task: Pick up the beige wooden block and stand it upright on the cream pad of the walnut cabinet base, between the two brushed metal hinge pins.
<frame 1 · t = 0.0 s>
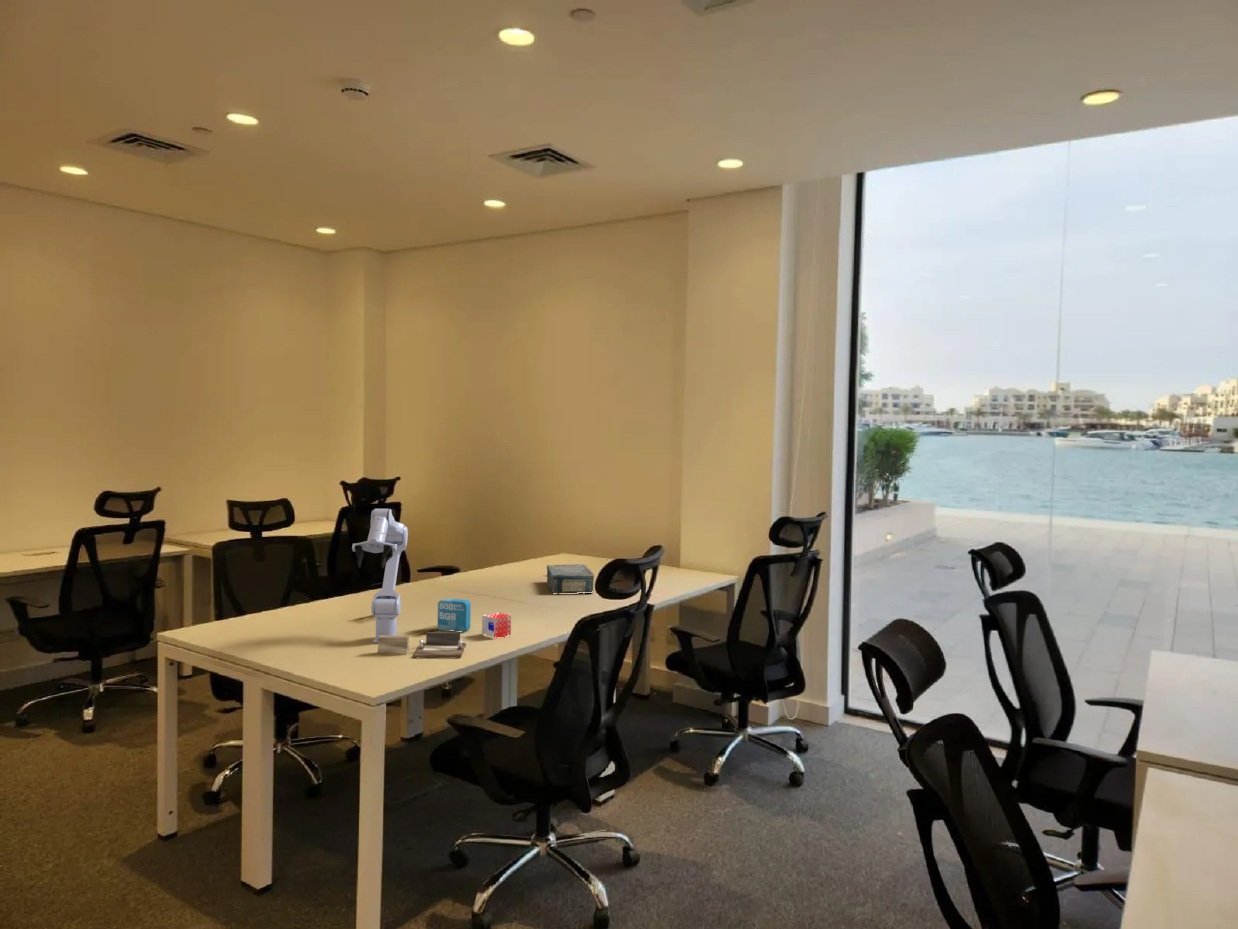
hand: (370, 566, 272), 32 cm above the table, tool tilted 50°, fingers open, 7 cm apart
puzzle cube: (496, 636, 312), on the table
hinge pins: (440, 644, 288), point 2 cm above the table
metal box: (569, 589, 409), on the table
data package: (453, 630, 319), on the table
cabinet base: (440, 651, 288), on the table
beige wooden block: (393, 653, 285), on the table
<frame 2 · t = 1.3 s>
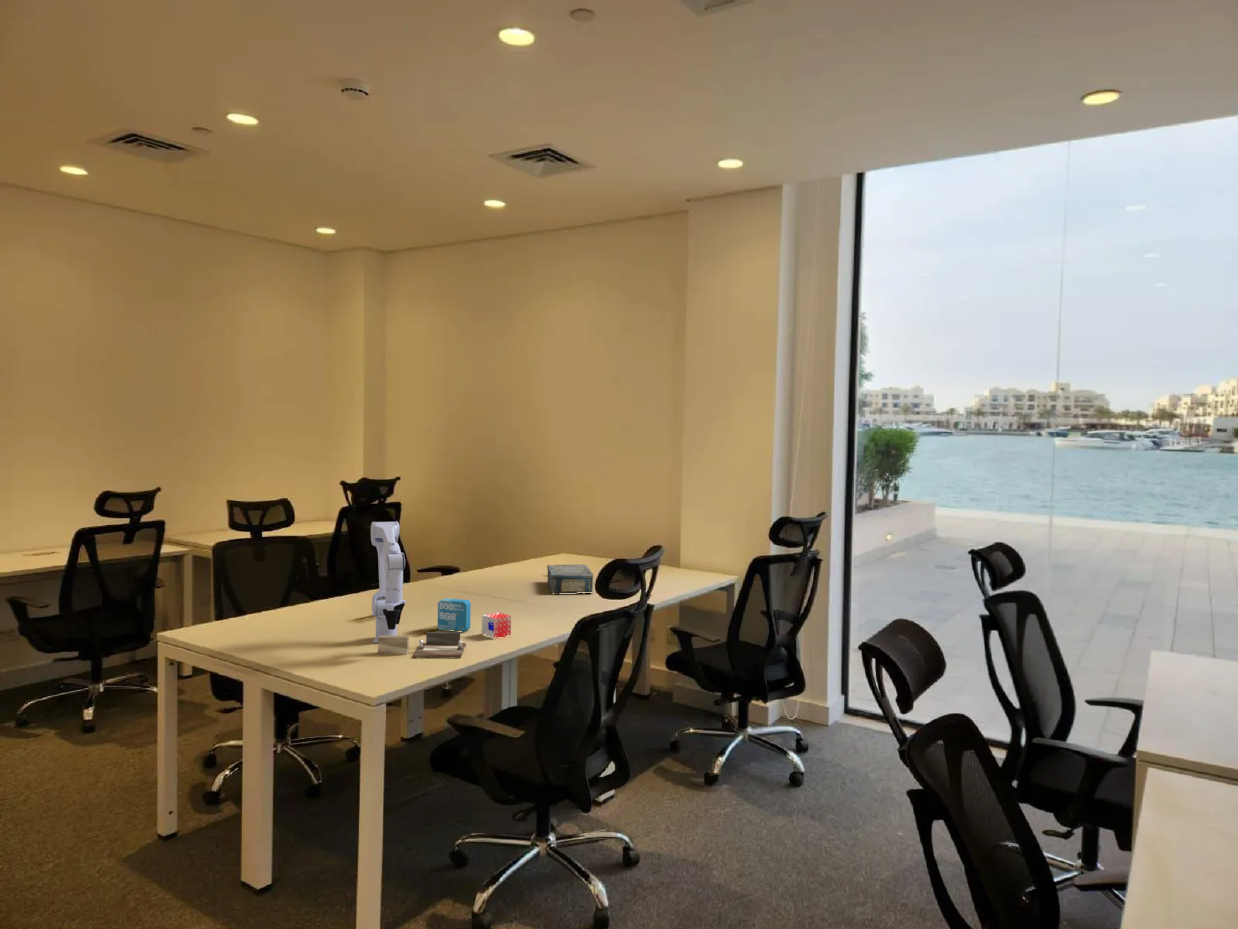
hand: (393, 626, 284), 9 cm above the table, tool pointing down, fingers open, 7 cm apart
nothing on the table moved.
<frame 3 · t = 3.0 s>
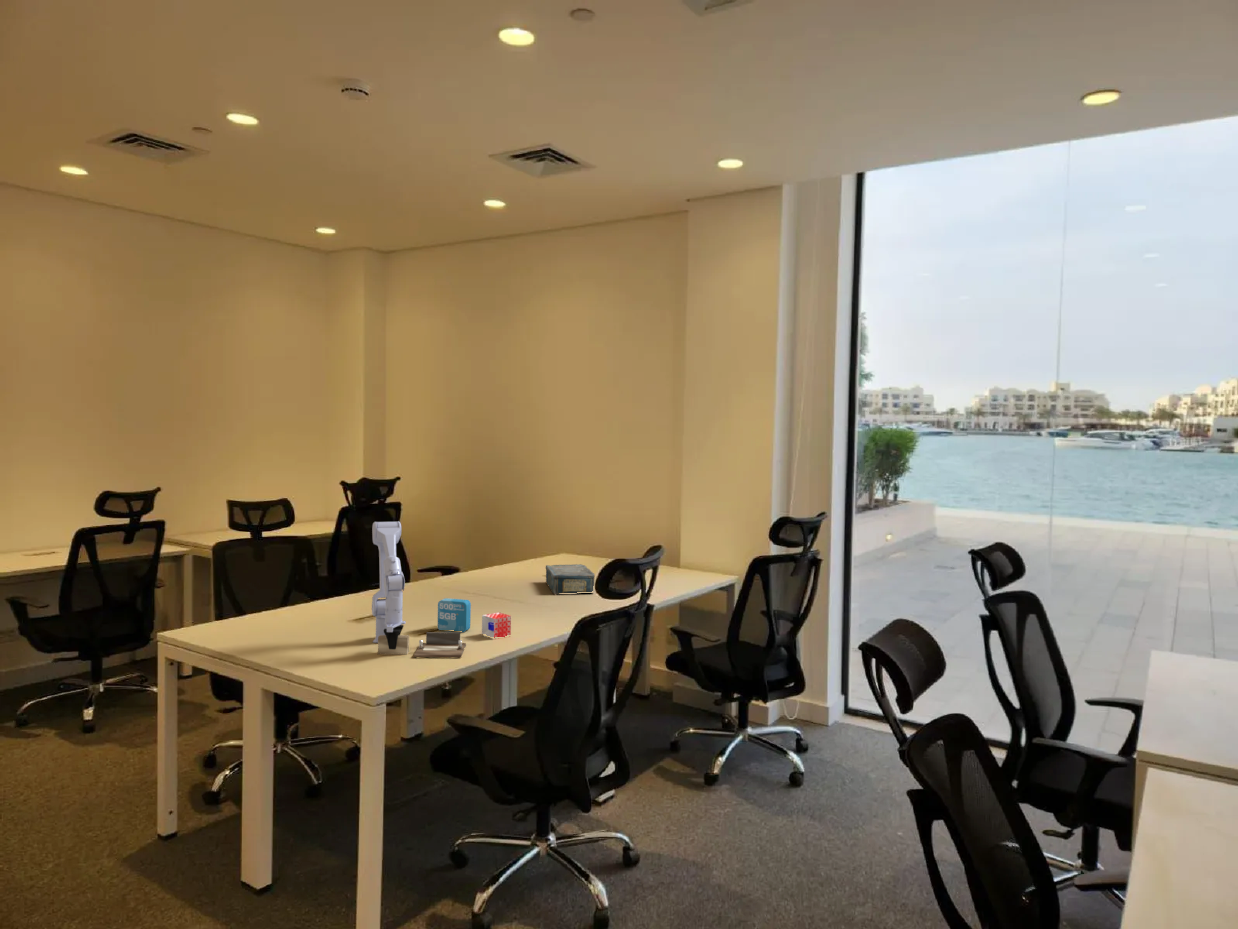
hand: (393, 647, 285), 2 cm above the table, tool pointing down, fingers closed on beige wooden block, 3 cm apart
beige wooden block: (393, 653, 285), on the table, touching gripper
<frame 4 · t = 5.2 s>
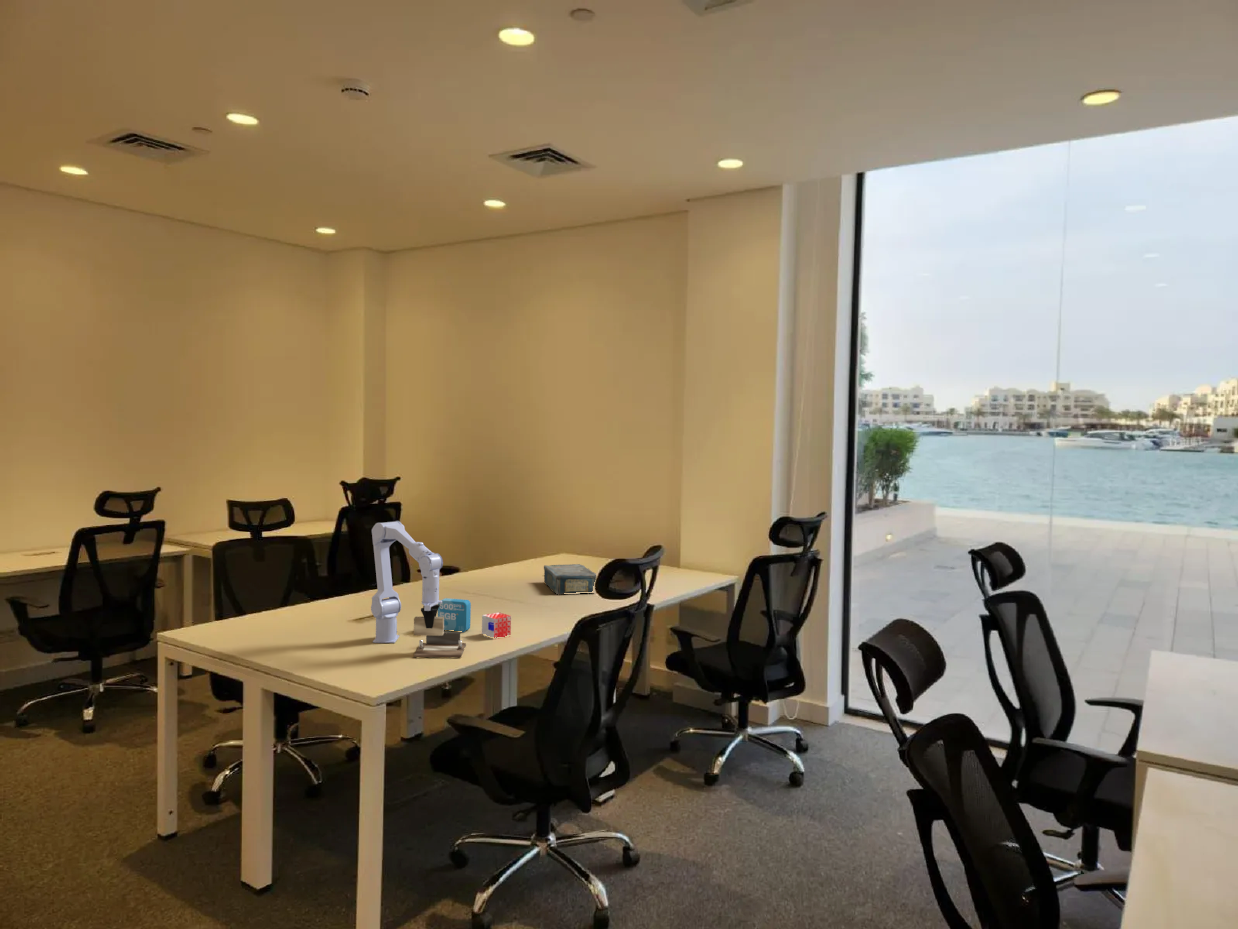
hand: (430, 626, 287), 9 cm above the table, tool pointing down, fingers closed on beige wooden block, 3 cm apart
beige wooden block: (428, 634, 287), point 6 cm above the table, touching gripper
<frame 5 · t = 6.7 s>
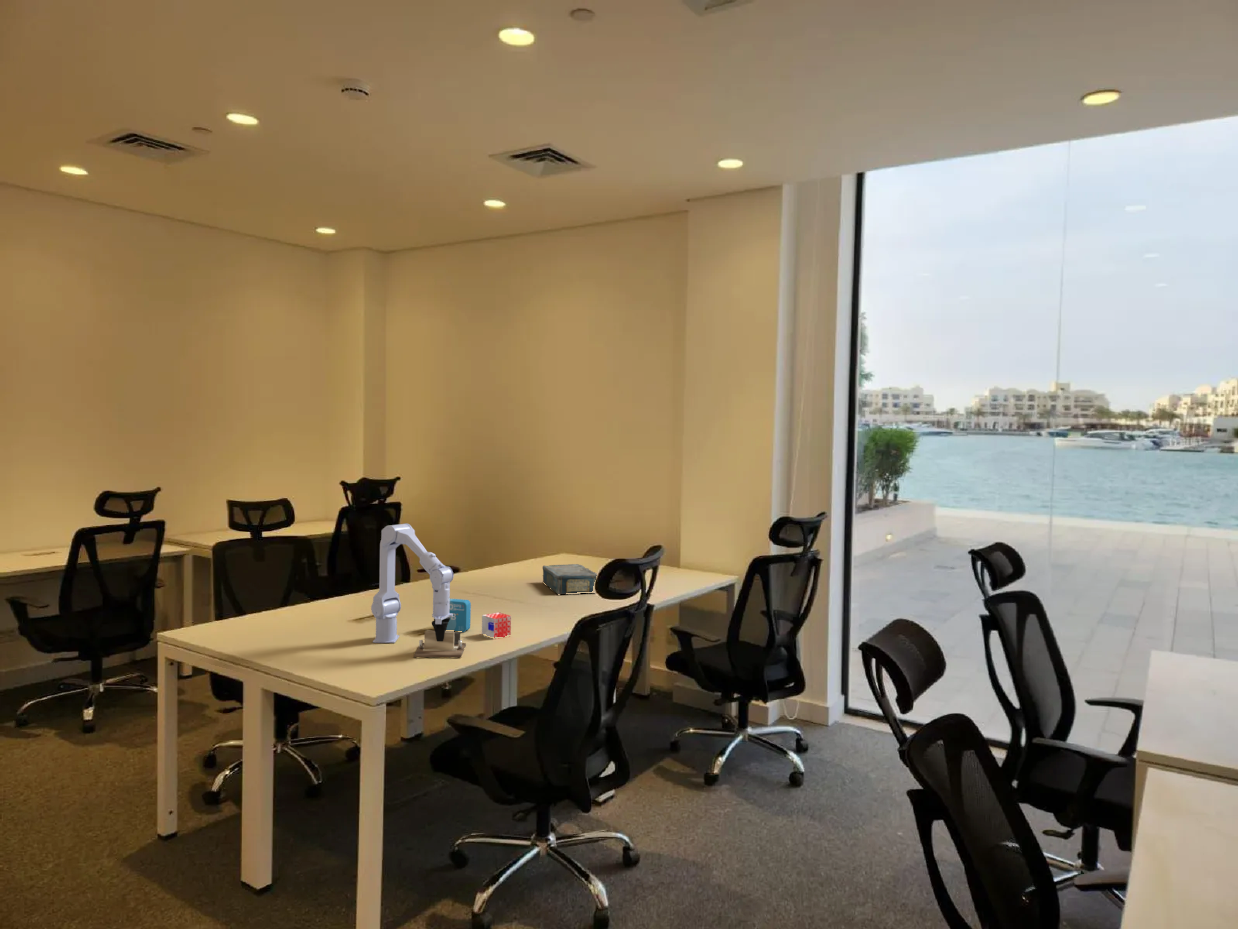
hand: (440, 639, 288), 4 cm above the table, tool pointing down, fingers closed on beige wooden block, 3 cm apart
beige wooden block: (439, 648, 288), point 1 cm above the table, touching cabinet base, gripper
when the fingers open (4 cm above the table, at t = 7.5 s): beige wooden block stays where it is, resting on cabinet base.
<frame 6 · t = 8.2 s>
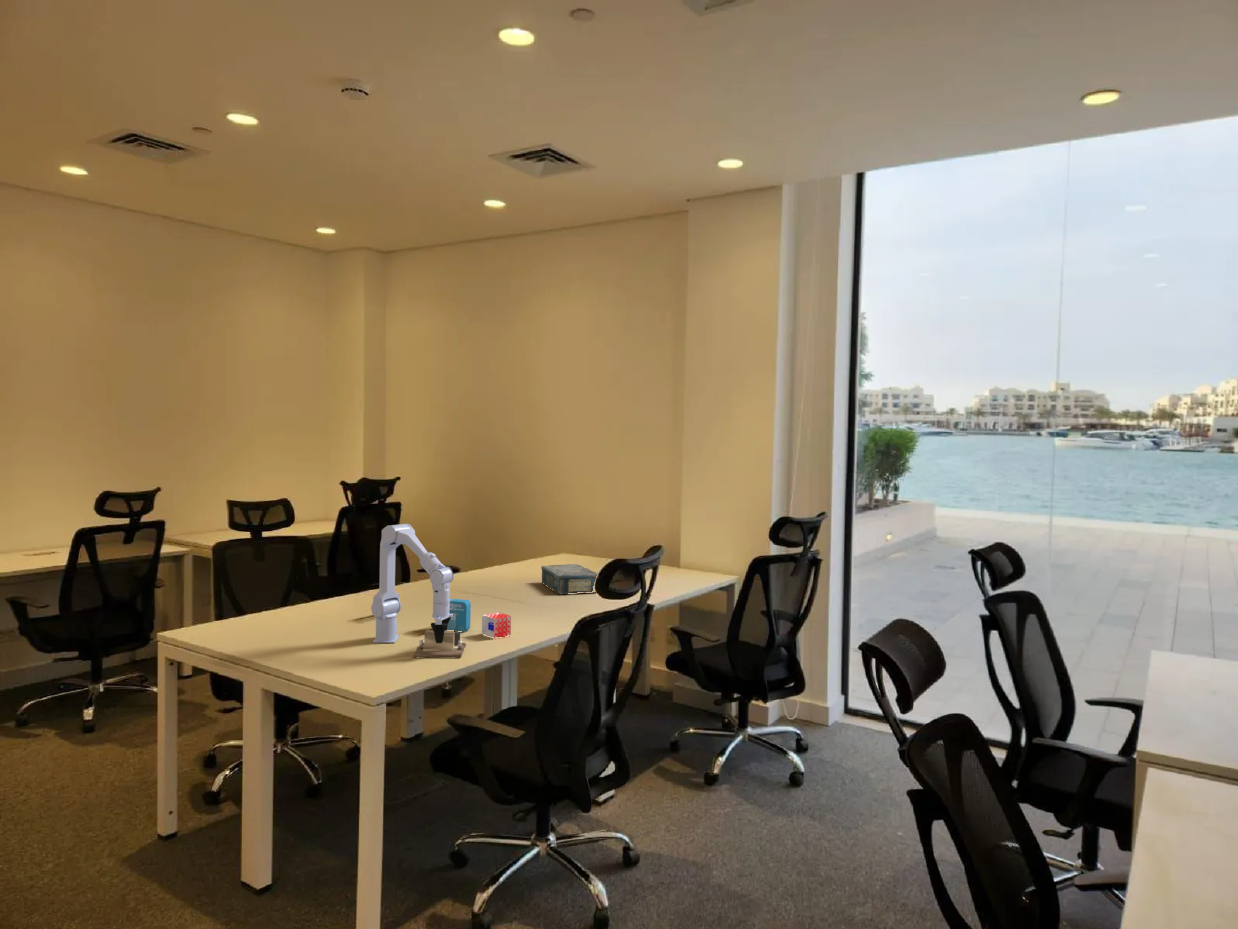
hand: (440, 640, 288), 4 cm above the table, tool pointing down, fingers open, 7 cm apart
beige wooden block: (439, 648, 288), point 1 cm above the table, touching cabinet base
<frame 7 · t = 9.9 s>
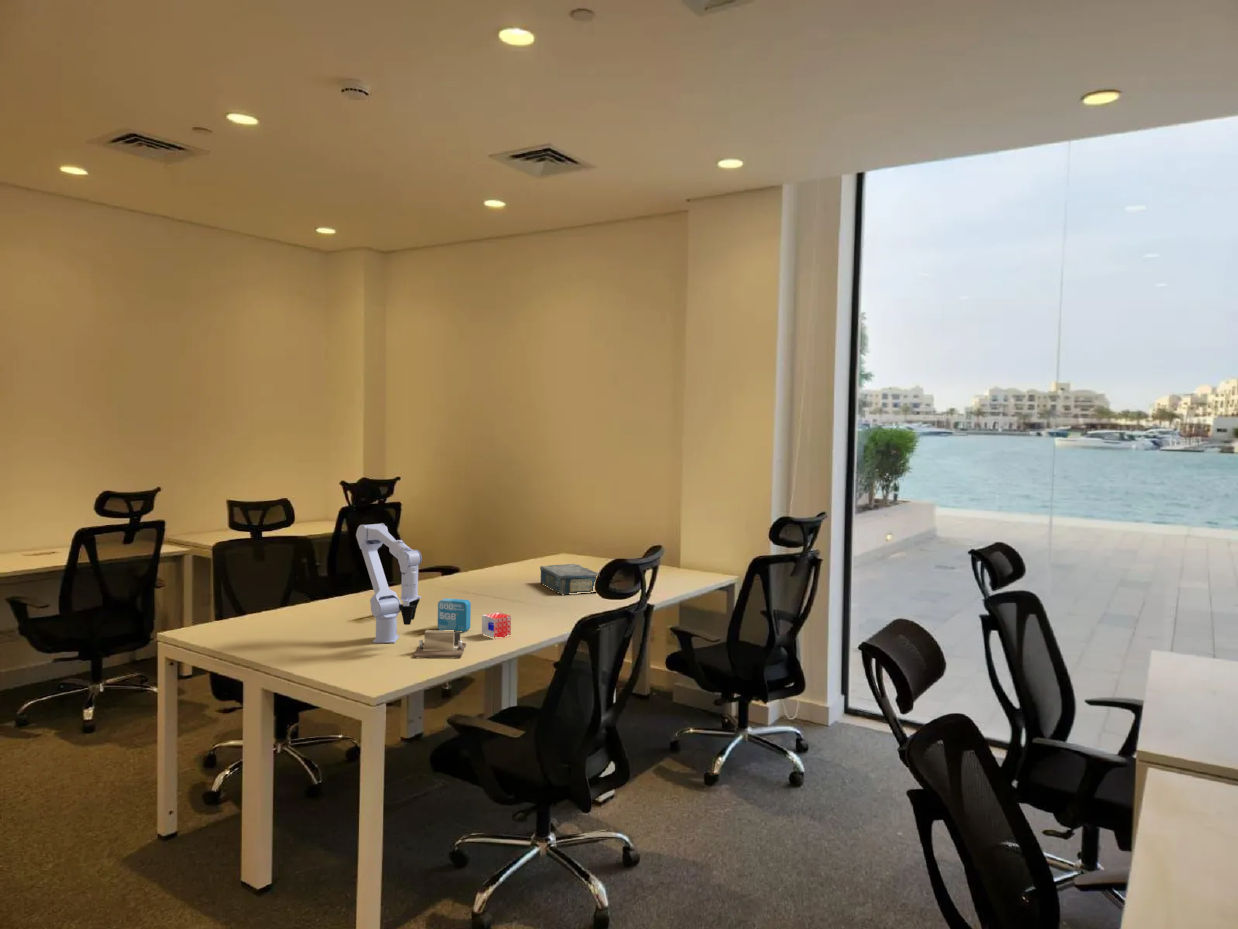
hand: (409, 622, 292), 9 cm above the table, tool pointing down, fingers open, 7 cm apart
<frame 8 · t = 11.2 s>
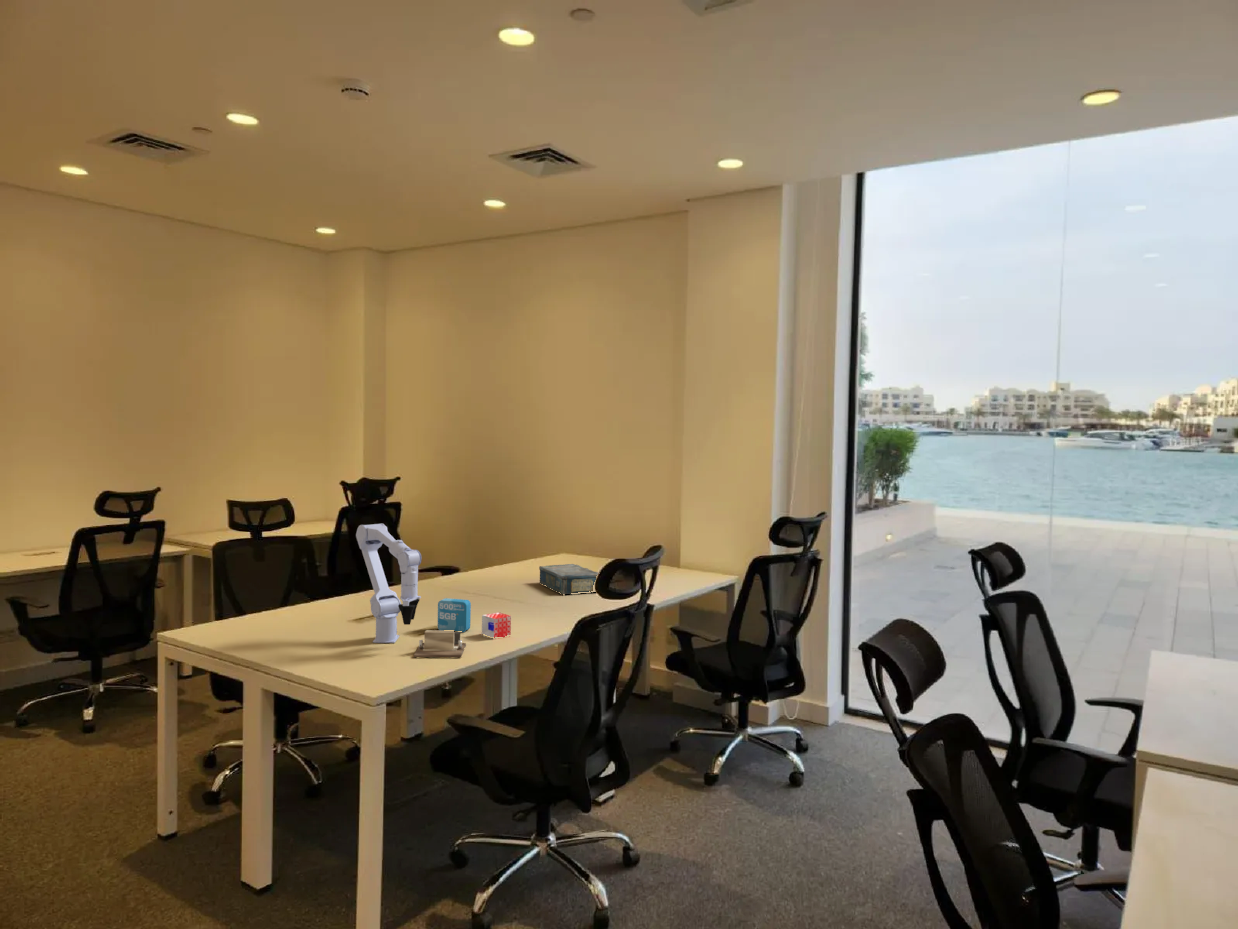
hand: (408, 621, 292), 9 cm above the table, tool pointing down, fingers open, 7 cm apart
at the end: beige wooden block 0.4 cm off-centre on the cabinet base, point 1.2 cm above the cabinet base's base; beige wooden block tilted 0°; the gripper is holding nothing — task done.
